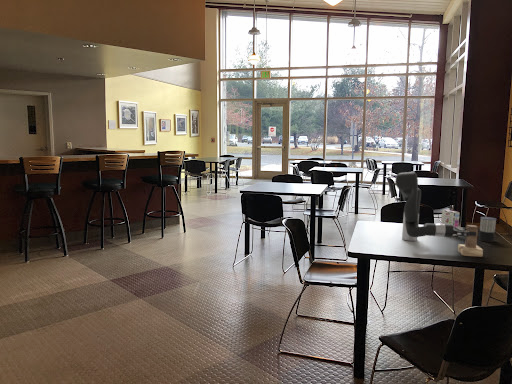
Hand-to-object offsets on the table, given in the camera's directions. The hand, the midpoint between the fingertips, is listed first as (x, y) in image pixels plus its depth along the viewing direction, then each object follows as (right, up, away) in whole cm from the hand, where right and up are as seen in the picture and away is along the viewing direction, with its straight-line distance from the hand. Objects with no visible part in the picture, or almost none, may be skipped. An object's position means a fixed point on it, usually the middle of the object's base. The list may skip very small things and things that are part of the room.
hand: (473, 232), depth 233 cm
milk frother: (+24, -9, +39) cm, 47 cm away
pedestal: (-1, -12, +2) cm, 12 cm away
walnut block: (-1, -8, +1) cm, 8 cm away
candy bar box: (+10, -7, +52) cm, 53 cm away
